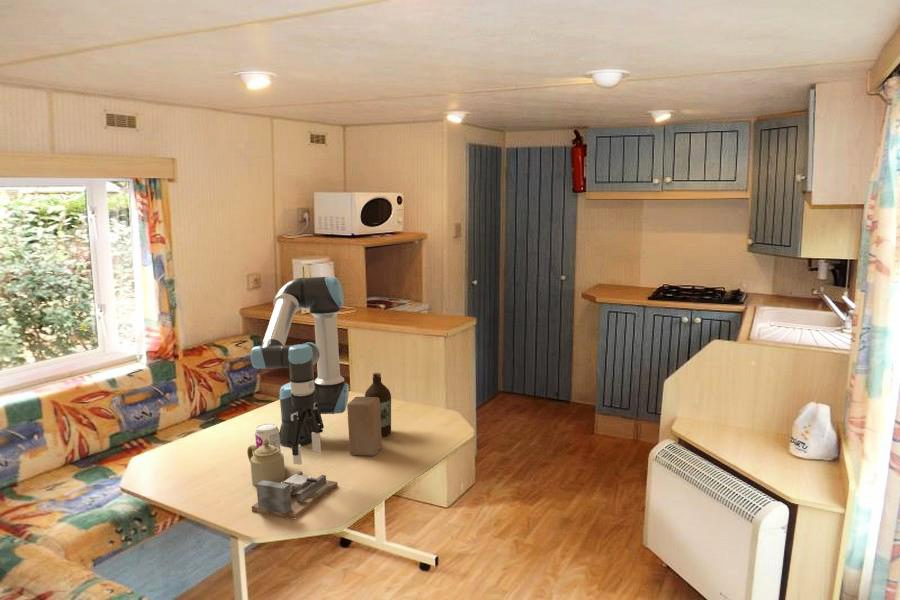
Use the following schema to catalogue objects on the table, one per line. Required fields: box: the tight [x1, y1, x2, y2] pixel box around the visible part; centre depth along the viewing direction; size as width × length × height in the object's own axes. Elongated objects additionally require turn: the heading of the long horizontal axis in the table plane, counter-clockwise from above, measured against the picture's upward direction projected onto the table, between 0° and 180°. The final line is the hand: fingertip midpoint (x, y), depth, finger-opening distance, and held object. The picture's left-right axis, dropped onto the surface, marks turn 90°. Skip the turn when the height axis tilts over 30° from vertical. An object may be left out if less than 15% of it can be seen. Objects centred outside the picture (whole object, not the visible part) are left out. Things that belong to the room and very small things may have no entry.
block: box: [346, 396, 383, 457], centre depth 254 cm, size 10×10×20 cm
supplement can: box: [254, 423, 282, 453], centre depth 242 cm, size 8×8×15 cm
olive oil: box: [364, 372, 392, 438], centre depth 271 cm, size 11×11×25 cm
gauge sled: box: [284, 473, 317, 495], centre depth 215 cm, size 10×11×5 cm
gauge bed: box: [251, 470, 339, 520], centre depth 217 cm, size 16×24×10 cm, turn 158°
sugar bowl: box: [247, 439, 286, 487], centre depth 231 cm, size 15×11×15 cm
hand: (307, 457), depth 223 cm, fingers open, 10 cm apart
